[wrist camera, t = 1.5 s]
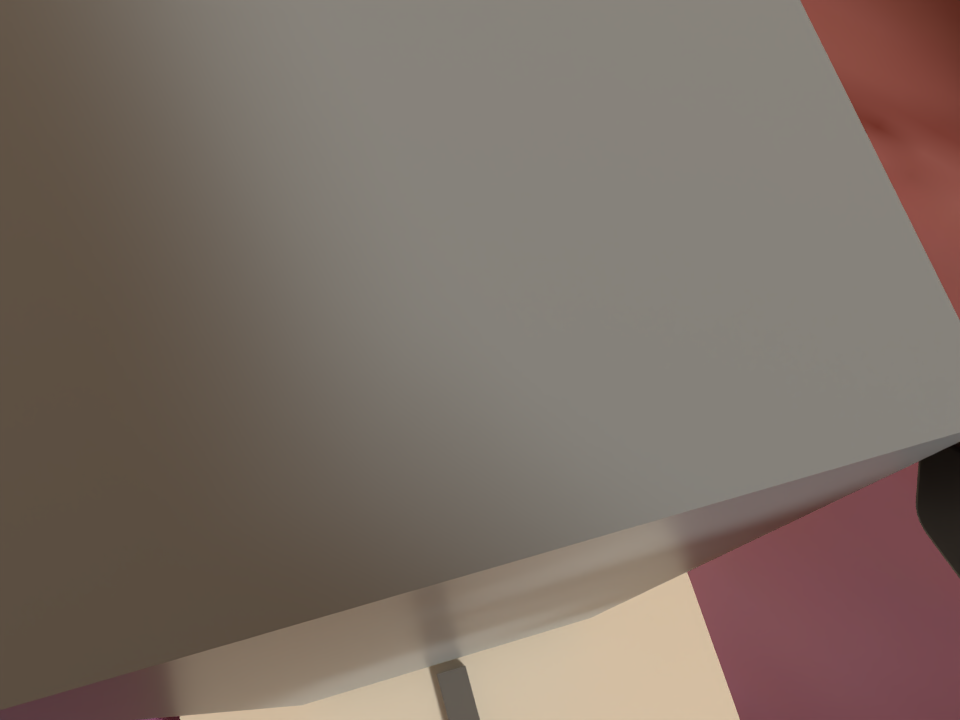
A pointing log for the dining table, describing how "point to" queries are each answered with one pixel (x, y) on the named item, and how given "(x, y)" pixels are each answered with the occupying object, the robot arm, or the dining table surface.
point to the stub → (421, 329)
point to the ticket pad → (556, 674)
